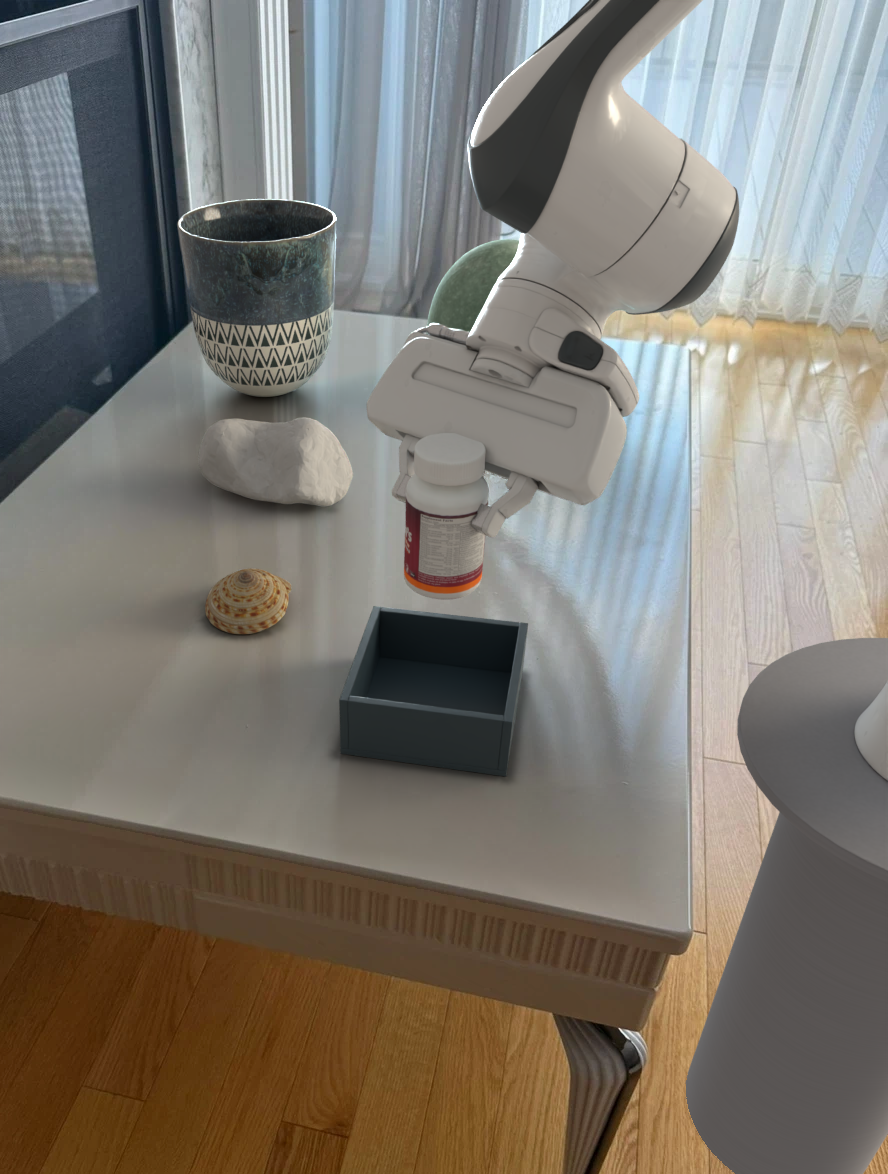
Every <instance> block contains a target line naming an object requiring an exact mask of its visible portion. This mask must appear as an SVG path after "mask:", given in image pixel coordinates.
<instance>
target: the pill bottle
mask: <svg viewBox="0 0 888 1174" xmlns="http://www.w3.org/2000/svg"><path fill="white" fill-rule="evenodd" d="M485 454H486V449H485V446H484V444H483V443H481V442H479V441H476V440H473V439H470V438H467V437H464V436H461V435H459V434H456V433H439V434H433V435H429V436H426V437H424V438H422V439H420V440H419V441H418V442H417V443H416V445H415V449H414V472H415V474H413V475H412V477H411V478H410V479H409V481H408V484H407V487H406V503H405V519H404V520H405V521H404V523H405V524H404V552H403V553H404V554H403V555H404V556H403V578H404V581H405V584H406V586H407V587H408V588H409V589H410V590H412V591H413V592H414V593H416V594H417V595H418V594H419V595H420V596H423V597H424V598H425V597H426V598H430V599H435V600H456V599H460V598H465V597H466V596H469V595H470V594H471V593H473V592H474V591H475V590H477V588H478V587H479V586H480V584H481V582H482V579H483V570H484V569H483V567H484V557H485V556H484V555H485V547H486V546H485V545H486V535H484V534H481V533H479V532H477V531H475V529H474V528H472V526H471V523H472V520H473V518H474V517H475V516H476V515H477V510H478V508H479V506H480V505H481V504H484V505H487V506H489V499H490V488H489V485H488V484H489V483H488V482H487V479H486V478H485V477H484V476H483V475H484V474H485V472H486V471H485Z"/></svg>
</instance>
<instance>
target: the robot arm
mask: <svg viewBox="0 0 888 1174" xmlns="http://www.w3.org/2000/svg"><path fill="white" fill-rule="evenodd" d="M703 1H704V0H588V1H586V3H584V5H583V6H582V7H580V9H579V10H578V11H577V12H576V13H575V14H574V15H573V16H572V17H571V18H570V19H569V20H568V21H567V22H566V23H565V24H564V25H562V26H561V28H560V29H558V30H557V31H556V32H555V33H554V34H552V36H551V37H550V38H548V39H547V40H546V41H545V42H544V43H543V44H542V45H540V47H538V48H537V49H536V50H535V51H534V52H533V53H532V54H531V55H530V56H529V57H528V58H527V59H526V60H524V61H523V63H521V64H520V65H519V66H518V67H517V68H515V69H514V70H513V71H512V72H510V74H509V75H508V76H507V77H505V79H504V80H503V81H501V83H500V84H499V85H498V86H497V88H495V89H494V91H493V93H492V94H491V95H490V96H489V98H488V99H487V101H486V102H485V104H484V106H482V109H481V111H480V113H479V114H478V117H477V119H476V122H475V124H474V126H473V128H472V129H471V132H470V133H469V136H468V140H467V144H466V145H467V157H468V159H467V160H468V167H469V173H470V178H471V182H472V186H473V190H474V193H475V197H476V199H477V202H478V204H479V207H480V209H481V211H484V212H486V213H487V214H489V215H491V216H492V217H494V218H496V219H497V220H499V221H501V222H502V223H504V224H506V225H507V226H509V227H510V228H512V229H513V230H516V231H517V232H519V233H521V234H520V238H519V241H520V242H519V247H518V251H517V254H516V256H515V258H514V260H513V262H512V263H511V265H510V266H509V267H508V268H507V269H506V270H505V271H504V272H503V273H502V275H501V276H500V277H499V278H498V280H497V282H496V283H495V285H494V287H493V289H492V291H491V293H490V295H489V297H488V299H487V301H486V303H485V305H484V307H483V309H482V311H481V312H480V314H479V316H478V318H477V320H476V322H475V324H474V326H473V328H472V330H471V332H467V331H463V330H457V329H451V328H447V327H446V326H444V325H442V324H437V323H432V324H430V325H429V326H428V327H427V326H424V327H420V328H418V329H417V330H414V331H411V332H410V334H409V335H408V336H407V337H406V339H405V341H404V342H403V345H402V346H401V349H400V350H399V351H398V352H397V354H396V355H395V357H394V358H393V359H392V361H391V362H390V363H389V365H388V367H387V368H386V369H385V371H384V372H383V374H381V375H382V376H381V377H380V379H379V380H378V382H377V383H376V385H375V386H374V388H373V390H372V392H371V394H370V395H369V397H368V400H367V402H366V413H367V419H368V420H369V421H370V422H371V423H372V424H373V426H375V428H377V430H379V431H380V432H381V433H383V434H384V435H385V436H388V437H389V438H392V439H396V440H398V441H401V443H400V445H399V447H398V457H399V458H398V460H399V461H398V463H399V465H398V466H399V468H398V469H399V475H398V477H397V479H396V481H395V483H394V485H393V487H392V489H391V496H392V497H394V499H396V500H397V501H399V502H402V503H403V504H406V487H407V484H408V481H409V479H410V478H411V477H412V475H413V474H415V472H414V449H415V445H416V443H417V442H418V441H419V440H420V439H422V438H424V437H426V436H429V435H433V434H439V433H456V434H459V435H461V436H464V437H467V438H470V439H473V440H476V441H479V442H481V443H483V444H484V446H485V449H486V454H485V471H484V472H486V473H490V474H493V475H495V476H498V477H501V478H504V479H506V482H505V485H504V486H505V487H506V488H507V489H508V491H506V492H505V493H504V494H502V496H500V497H499V498H498V499H497V500H496V501H495V502H494V503H492V504H491V505H490V506H489V505H488V506H487V505H484V504H481V505H480V506H479V508H478V510H477V515H476V516H475V517H474V518H473V520H472V523H471V526H472V528H474V529H475V531H477V532H479V533H481V534H484V535H485V537H488V538H491V539H495V538H496V537H497V536H498V535H499V532H500V530H501V529H502V527H503V525H504V523H505V521H506V519H509V518H511V517H512V516H514V515H515V514H516V513H518V512H519V511H521V510H522V509H524V508H526V506H528V505H529V504H530V503H531V502H532V500H533V498H534V496H535V494H536V492H537V491H540V492H543V493H546V494H548V495H551V496H552V497H556V498H560V499H562V500H564V501H568V502H569V503H570V502H571V503H573V504H575V505H578V506H582V507H585V506H587V505H589V504H591V503H593V502H595V501H597V500H598V499H599V498H601V496H602V495H603V493H604V491H605V490H606V488H607V486H608V484H609V483H610V480H611V478H612V476H613V474H614V471H615V470H616V467H617V466H618V465H617V464H618V462H619V460H620V458H621V454H622V452H623V449H624V446H625V443H626V439H627V435H628V427H627V424H626V421H625V419H624V418H625V417H628V416H630V415H631V414H632V413H633V412H634V410H635V409H636V407H637V405H638V404H639V401H640V392H639V389H638V387H637V385H636V382H635V379H634V378H633V376H632V374H631V372H630V370H629V368H628V367H627V365H626V363H625V362H624V361H623V359H622V357H621V356H620V355H619V353H618V352H617V351H616V350H615V349H614V348H613V347H611V345H609V344H607V343H605V341H603V340H602V336H603V334H604V330H605V327H606V323H607V321H608V319H609V318H610V316H611V315H612V314H613V313H615V312H617V311H622V312H625V314H628V315H633V316H638V315H651V314H657V313H658V314H659V313H663V312H668V311H669V312H670V311H672V310H676V309H679V308H682V307H683V308H684V307H686V306H688V305H691V304H693V303H694V302H696V301H697V300H698V299H700V298H701V296H702V295H703V294H704V293H705V292H706V291H707V290H708V289H709V287H710V286H711V284H712V283H713V282H714V281H715V279H716V277H718V275H719V273H720V271H721V270H722V269H723V266H724V265H725V264H726V261H727V259H728V257H729V255H730V253H731V251H732V249H733V247H734V244H735V239H736V235H737V232H738V227H739V226H738V225H739V219H740V198H739V193H738V189H737V188H736V187H735V186H734V185H732V183H731V182H730V181H729V179H728V178H727V177H726V176H725V175H724V174H723V173H722V172H721V170H719V169H718V168H717V167H715V166H714V165H713V164H712V163H711V162H710V161H709V160H707V159H706V158H705V156H703V155H702V154H701V153H700V152H698V151H697V150H696V149H695V148H694V147H693V146H692V145H690V144H689V143H688V142H687V141H686V140H685V139H683V138H680V137H678V136H677V135H676V134H675V133H674V132H673V131H671V130H670V129H669V128H668V127H667V126H666V125H664V124H663V123H662V122H661V121H659V119H657V118H656V117H655V116H654V115H653V114H651V113H650V112H649V111H648V110H647V109H645V108H644V107H643V106H642V104H640V103H638V102H637V101H636V100H635V99H634V98H633V97H631V95H630V94H628V93H627V92H626V90H625V88H624V86H623V84H622V82H623V80H624V79H625V78H626V76H628V75H629V74H630V72H631V71H633V69H634V68H635V67H637V66H638V65H639V64H640V62H642V60H644V59H645V58H646V56H648V55H649V54H650V53H651V52H652V51H653V50H654V49H655V47H657V46H658V45H659V44H660V43H661V42H662V41H663V40H664V39H665V38H666V37H668V35H669V34H670V33H671V32H672V31H673V30H675V28H676V27H678V26H679V25H680V24H681V23H682V22H683V20H685V18H686V17H688V16H689V15H690V14H691V13H692V12H693V11H694V10H695V9H696V8H697V7H698V6H699V5H700V4H701V3H702V2H703ZM426 332H427V333H428V335H427V334H426ZM854 734H855V740H856V744H857V746H858V749H859V751H860V752H861V754H862V756H863V757H864V758H865V760H866V761H867V762H868V764H869V765H870V766H871V767H872V768H873V769H874V770H875V771H876V772H877V773H878V774H880V775H881V776H882V777H883V778H885V779H886V780H887V781H888V681H887V683H886V684H885V686H884V687H883V689H882V690H881V692H880V693H879V694H878V696H877V697H876V698H875V700H874V701H873V702H872V703H871V704H870V706H869V707H868V708H867V709H866V710H865V711H864V712H863V713H862V714H861V715H860V716H859V718H858V720H857V722H856V724H855V730H854Z"/></svg>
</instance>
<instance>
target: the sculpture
mask: <svg viewBox="0 0 888 1174" xmlns="http://www.w3.org/2000/svg"><path fill="white" fill-rule="evenodd" d="M519 242H520V239H512V238H506V239H505V238H503V239H496V240H491V241H488V242H485V243H483V244H480V245H478V246H476V247H474V248H472V249H470V250H469V251H467V252H466V253H464V254H462V256H460V257H459V258H458V259H457V260H456V261H455V262H454V263H453V264H452V266H451V267H450V268H449V269H448V270H447V271H446V273H445V274H444V276H443V277H442V278H441V281H440V282H439V284H438V286H437V288H436V290H435V292H434V294H433V297H432V300H431V304H430V306H429V307H430V308H429V310H428V315H427V322H426V327H428V326H429V325H430V324H432V323H437V324H442V325H444V326H446V327H447V328H451V329H457V330H463V331H467V332H471V330H472V328H473V326H474V324H475V322H476V320H477V318H478V316H479V314H480V312H481V311H482V309H483V307H484V305H485V303H486V301H487V299H488V297H489V295H490V293H491V291H492V289H493V287H494V285H495V283H496V282H497V280H498V278H499V277H500V276H501V275H502V273H503V272H504V271H505V270H506V269H507V268H508V267H509V266H510V265H511V263H512V262H513V260H514V258H515V256H516V254H517V251H518V247H519ZM425 334H427V335H428V333H427V332H426V333H425Z"/></svg>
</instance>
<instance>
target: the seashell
mask: <svg viewBox="0 0 888 1174" xmlns="http://www.w3.org/2000/svg"><path fill="white" fill-rule="evenodd" d="M291 591H292V584H291V583H290V581H288V580H287V579H285V578H284V577H281V576H279V575H276V574H272V573H271V572H269V571H266V570H264V569H261V568H249V567H248V568H242V569H238V570H235V571H233V572H231V573H230V574H227V575H226V576H224V577H222V578H221V579H219V580H218V581H217V582H215V584H213V586H212V587H211V589H210V590H209V592H208V594H207V598H206V600H205V605H204V607H205V609H204V611H205V615H206V616H205V617H206V618H207V619H208V621H209V622H210V624H211V625H212V626H214V627H215V628H217V629H218V630H220V631H223V632H225V633H229V634H234V635H249V634H250V635H251V634H256V633H259V632H262V631H265V630H267V629H269V628H271V627H273V626H274V625H276V624H277V623H278V622H279V621H280V620H282V619H283V617H284V616H285V615H286V613H287V609H288V606H289V601H290V600H289V599H290V598H289V597H290V595H289V594H290V593H291Z"/></svg>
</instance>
